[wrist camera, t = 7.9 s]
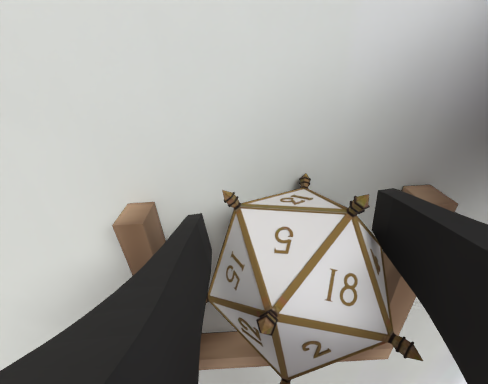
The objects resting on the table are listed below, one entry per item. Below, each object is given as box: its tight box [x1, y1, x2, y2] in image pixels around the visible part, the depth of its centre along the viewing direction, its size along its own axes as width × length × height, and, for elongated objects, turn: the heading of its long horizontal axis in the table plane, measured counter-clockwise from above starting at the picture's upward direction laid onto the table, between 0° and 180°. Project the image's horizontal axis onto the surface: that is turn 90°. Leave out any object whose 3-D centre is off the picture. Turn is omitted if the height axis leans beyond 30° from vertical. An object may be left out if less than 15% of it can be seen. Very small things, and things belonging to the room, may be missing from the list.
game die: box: [206, 174, 423, 384], centre depth 11 cm, size 9×8×10 cm
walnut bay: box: [112, 185, 458, 370], centre depth 16 cm, size 17×14×2 cm
